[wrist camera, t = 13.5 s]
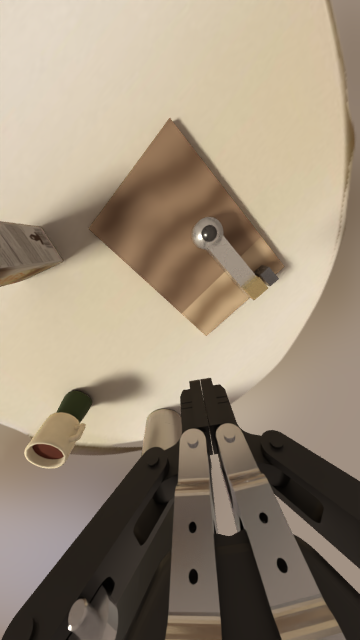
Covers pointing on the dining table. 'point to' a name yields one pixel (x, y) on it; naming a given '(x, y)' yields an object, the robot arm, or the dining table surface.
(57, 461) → the character mug
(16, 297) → the dining table surface
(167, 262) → the door board
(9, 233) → the coffee box
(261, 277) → the block
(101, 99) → the dining table surface
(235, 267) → the latch bar
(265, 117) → the dining table surface
